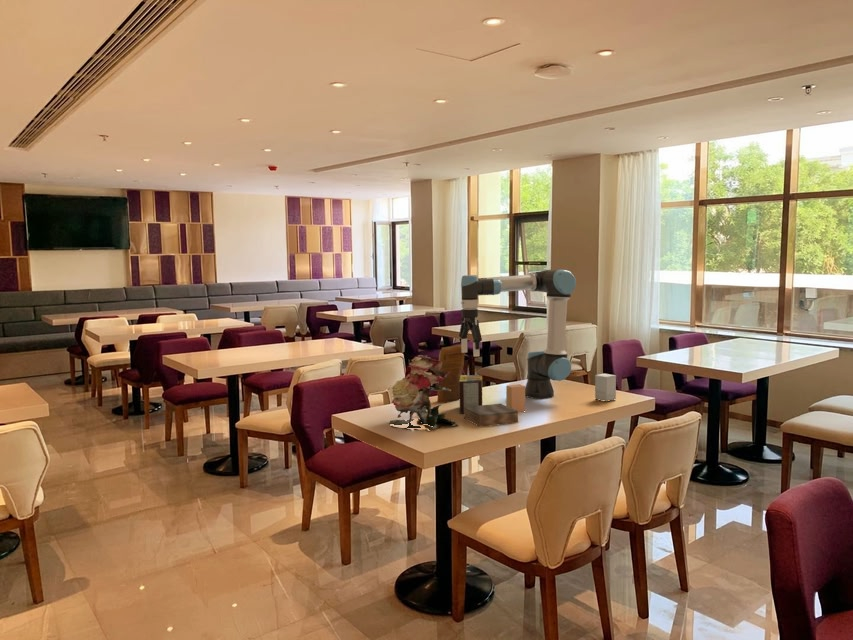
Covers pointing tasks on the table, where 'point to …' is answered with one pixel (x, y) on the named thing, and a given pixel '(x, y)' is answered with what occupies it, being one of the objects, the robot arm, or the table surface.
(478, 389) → the protein box
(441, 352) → the pancake mix bag
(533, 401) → the table surface
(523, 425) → the table surface
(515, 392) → the carton
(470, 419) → the display podium
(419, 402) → the rose bouquet
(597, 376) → the supplement box
